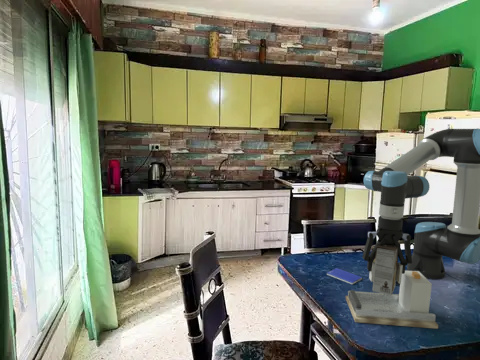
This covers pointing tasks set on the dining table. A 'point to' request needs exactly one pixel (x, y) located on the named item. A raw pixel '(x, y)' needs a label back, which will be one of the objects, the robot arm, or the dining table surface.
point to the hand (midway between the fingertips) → (384, 280)
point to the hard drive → (344, 276)
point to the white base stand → (384, 307)
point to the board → (391, 322)
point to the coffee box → (385, 269)
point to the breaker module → (414, 292)
